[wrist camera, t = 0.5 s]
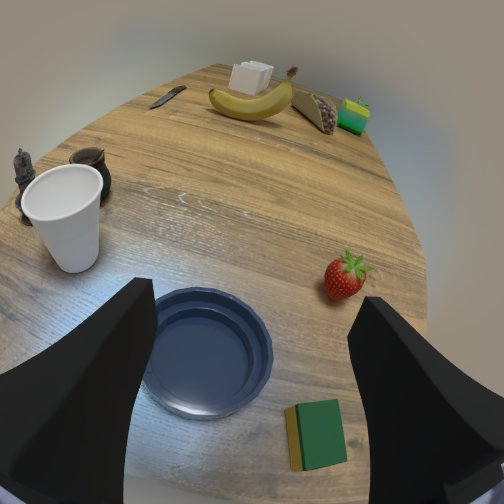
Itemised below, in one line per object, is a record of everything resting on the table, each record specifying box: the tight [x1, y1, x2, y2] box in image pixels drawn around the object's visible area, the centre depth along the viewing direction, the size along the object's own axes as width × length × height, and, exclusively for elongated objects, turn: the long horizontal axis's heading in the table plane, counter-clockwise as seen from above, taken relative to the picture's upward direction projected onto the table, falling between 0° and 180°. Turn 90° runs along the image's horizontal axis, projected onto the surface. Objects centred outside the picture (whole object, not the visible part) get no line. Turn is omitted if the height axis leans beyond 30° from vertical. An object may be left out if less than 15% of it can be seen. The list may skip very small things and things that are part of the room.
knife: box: [149, 85, 187, 108], centre depth 75 cm, size 28×3×1 cm, turn 174°
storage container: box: [228, 61, 274, 96], centre depth 100 cm, size 25×11×11 cm, turn 164°
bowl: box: [142, 287, 273, 421], centre depth 25 cm, size 13×13×4 cm
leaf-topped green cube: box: [337, 97, 370, 135], centre depth 93 cm, size 11×10×15 cm
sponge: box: [285, 399, 347, 471], centre depth 22 cm, size 7×4×4 cm, turn 4°
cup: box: [21, 164, 103, 273], centre depth 27 cm, size 10×10×11 cm
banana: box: [209, 67, 298, 121], centre depth 67 cm, size 23×6×20 cm, turn 83°
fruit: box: [325, 249, 373, 300], centre depth 35 cm, size 5×5×8 cm
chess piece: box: [14, 148, 36, 226], centre depth 29 cm, size 6×6×12 cm
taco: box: [291, 91, 338, 134], centre depth 88 cm, size 10×27×10 cm, turn 20°
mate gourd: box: [69, 147, 111, 202], centre depth 35 cm, size 7×8×10 cm
